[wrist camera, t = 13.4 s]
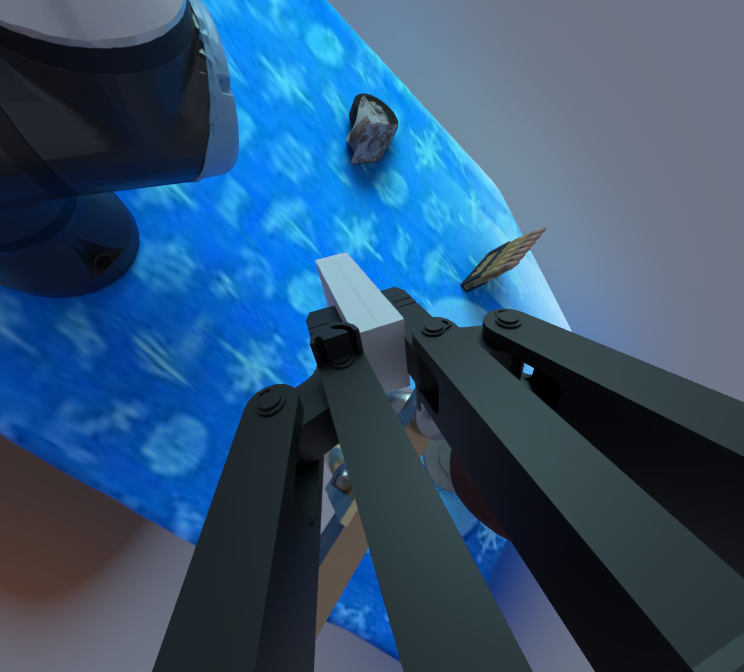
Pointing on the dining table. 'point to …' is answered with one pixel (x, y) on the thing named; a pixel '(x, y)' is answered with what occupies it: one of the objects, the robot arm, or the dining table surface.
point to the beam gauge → (349, 543)
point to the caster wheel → (370, 128)
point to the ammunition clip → (501, 260)
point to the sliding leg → (340, 486)
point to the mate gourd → (458, 482)
